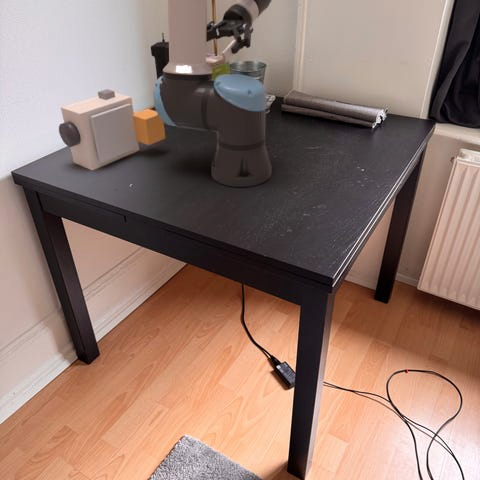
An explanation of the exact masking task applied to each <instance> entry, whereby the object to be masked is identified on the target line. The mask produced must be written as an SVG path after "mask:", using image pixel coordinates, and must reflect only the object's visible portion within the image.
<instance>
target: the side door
mask: <svg viewBox="0 0 480 480" xmlns="http://www.w3.org/2000/svg"><path fill="white" fill-rule="evenodd" d="M90 119H91V124H92V129H93V134H94V139H95V143H96V148H97V153H98V158H99V162H101V163H103V162H106V161H108V160H110V159H113V158H115V157H117V156H120V155H122V154H124V153H127V152H129V151H131V150H134V149H136V148H138V145H139V144H138V145H137V141H138V143H142V144H144V145H146V146H147V145H148V146H150V145H153V144H155V143H158V142H160V141H162V140H165V139H166V132H165V131H166V130H165V123H164V122H163V121H162V119H161V118H160V117H159V116H158V114H157V111H156V110H153V109H151V108H150V109H149V108H146V109H142V110H140V111H137V112H134V114H133V112H132V106H131V104H125V105H122V106H120V107H117V108H114V109H111V110H108V111H105V112H102V113H99V114H96V115H93V116H90Z"/></svg>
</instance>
